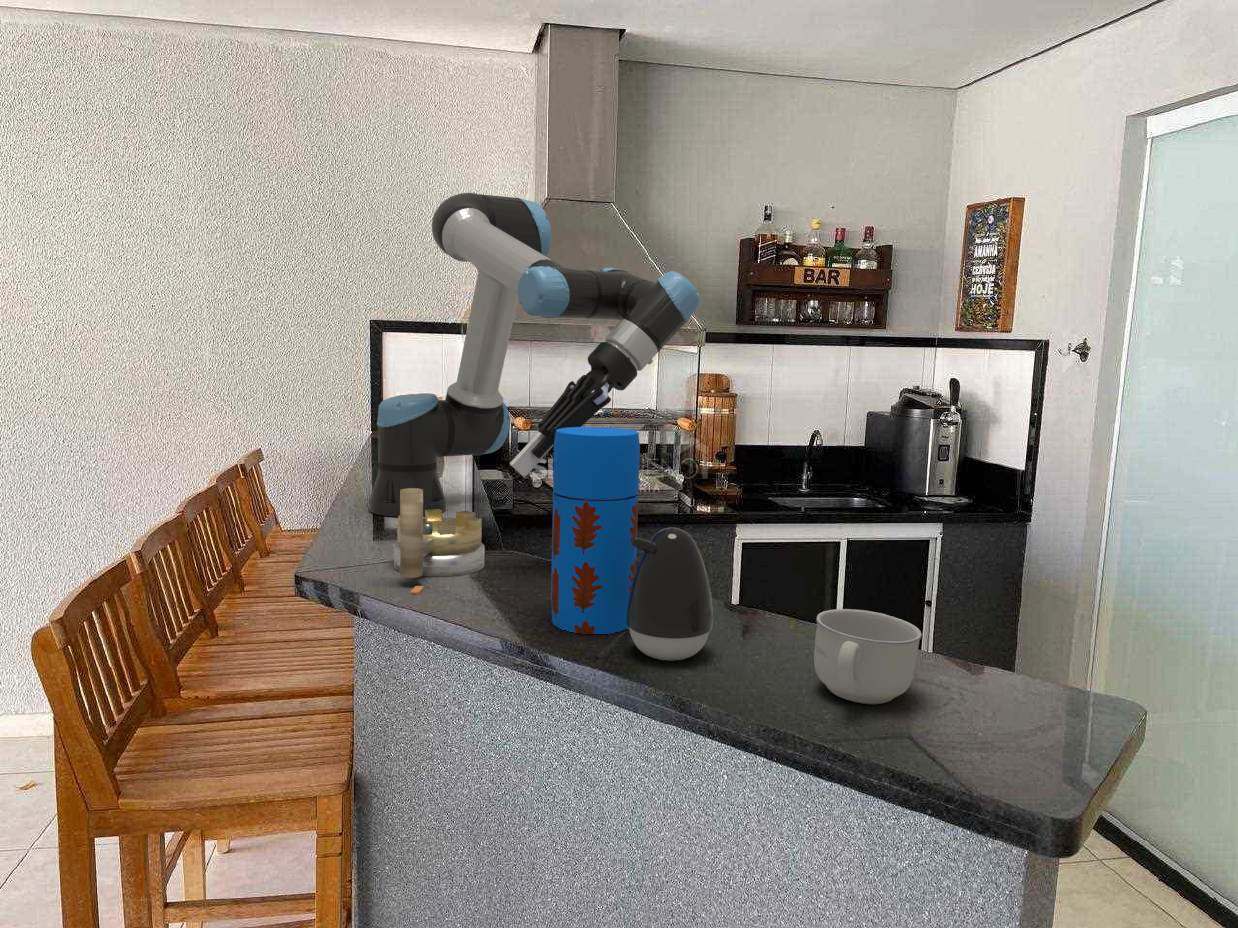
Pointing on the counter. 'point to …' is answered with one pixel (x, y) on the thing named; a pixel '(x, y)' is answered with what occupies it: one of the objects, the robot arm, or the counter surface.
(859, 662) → the teacup
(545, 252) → the robot arm
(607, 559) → the thermos
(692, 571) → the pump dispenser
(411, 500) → the studded brass turntable
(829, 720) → the counter surface
